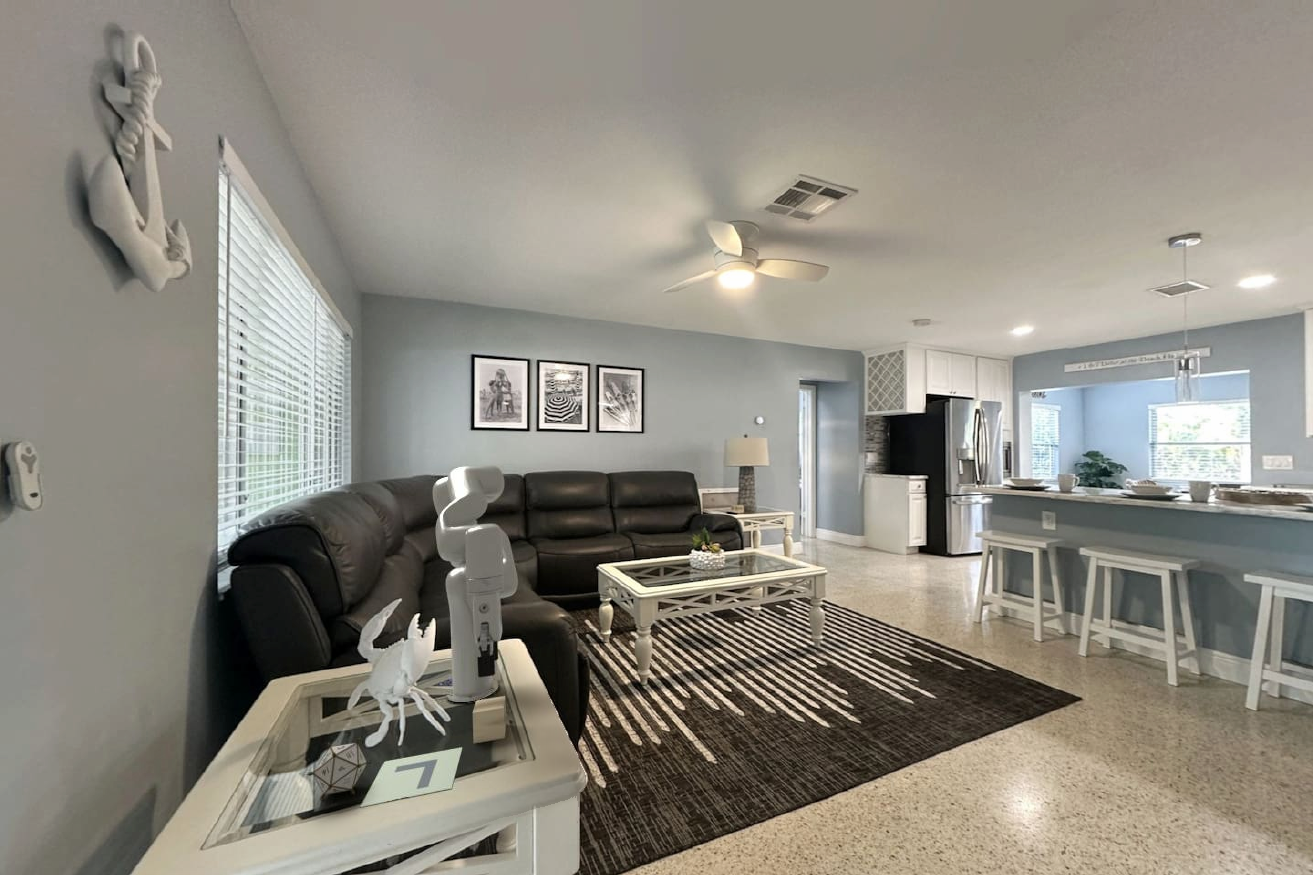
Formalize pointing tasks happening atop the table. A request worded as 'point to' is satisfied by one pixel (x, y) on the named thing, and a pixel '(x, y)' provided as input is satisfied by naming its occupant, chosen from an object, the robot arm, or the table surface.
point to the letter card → (414, 776)
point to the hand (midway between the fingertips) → (488, 668)
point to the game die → (340, 768)
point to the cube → (489, 719)
